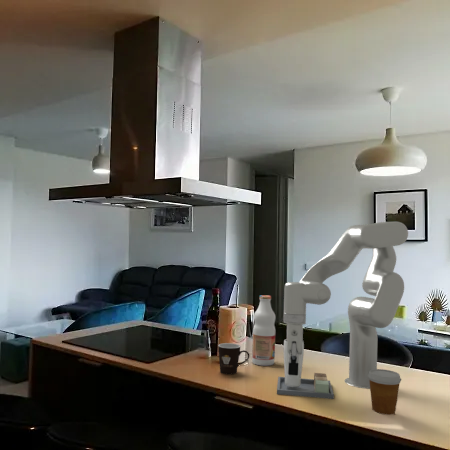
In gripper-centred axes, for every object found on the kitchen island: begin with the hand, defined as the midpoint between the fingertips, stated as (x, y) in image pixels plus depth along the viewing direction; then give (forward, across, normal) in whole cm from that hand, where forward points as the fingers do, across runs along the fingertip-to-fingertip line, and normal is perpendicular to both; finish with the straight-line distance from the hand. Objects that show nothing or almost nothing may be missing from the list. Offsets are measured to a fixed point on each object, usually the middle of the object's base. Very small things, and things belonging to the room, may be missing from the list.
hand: (293, 371), depth 151 cm
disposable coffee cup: (+7, -14, -27) cm, 31 cm away
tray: (+7, 0, -4) cm, 8 cm away
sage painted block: (+6, -4, -9) cm, 12 cm away
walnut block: (+6, +4, -9) cm, 12 cm away
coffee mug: (+7, +16, +23) cm, 29 cm away
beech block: (+6, 0, -9) cm, 11 cm away
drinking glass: (+5, 0, 0) cm, 5 cm away
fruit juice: (+7, +34, +12) cm, 37 cm away
